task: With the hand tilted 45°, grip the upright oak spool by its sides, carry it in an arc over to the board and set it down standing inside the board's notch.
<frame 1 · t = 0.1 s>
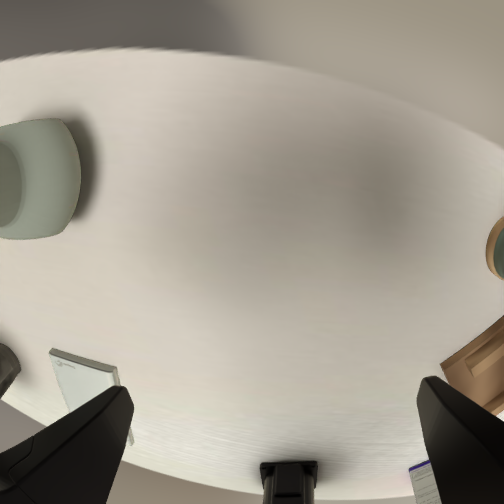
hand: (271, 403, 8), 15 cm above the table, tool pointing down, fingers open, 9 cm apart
hard drive: (96, 395, 30), on the table
air freshener: (47, 173, 22), on the table
beverage cup: (9, 357, 30), on the table
supplement box: (428, 467, 30), on the table
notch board: (497, 364, 24), on the table
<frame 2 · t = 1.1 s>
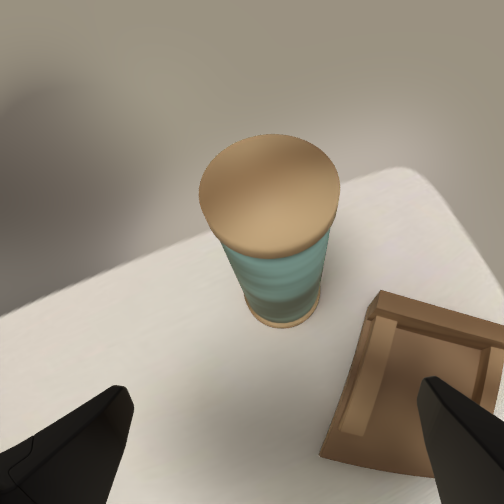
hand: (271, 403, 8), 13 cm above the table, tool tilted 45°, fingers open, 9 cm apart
oak spool: (282, 292, 24), on the table
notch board: (420, 397, 19), on the table
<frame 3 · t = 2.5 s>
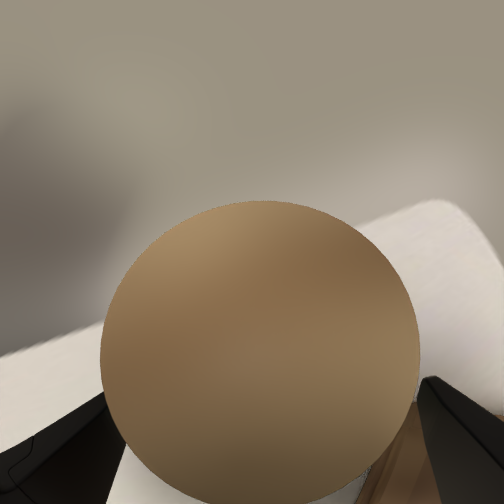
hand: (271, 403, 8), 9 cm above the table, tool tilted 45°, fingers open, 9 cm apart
oak spool: (281, 385, 16), on the table
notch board: (446, 501, 11), on the table
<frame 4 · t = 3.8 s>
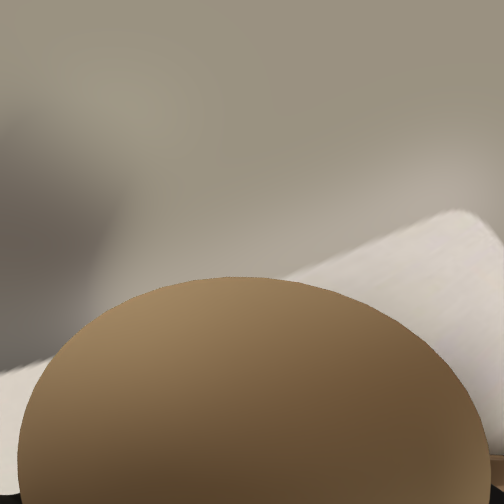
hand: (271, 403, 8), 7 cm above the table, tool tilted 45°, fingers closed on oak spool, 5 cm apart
oak spool: (280, 427, 14), on the table, touching gripper
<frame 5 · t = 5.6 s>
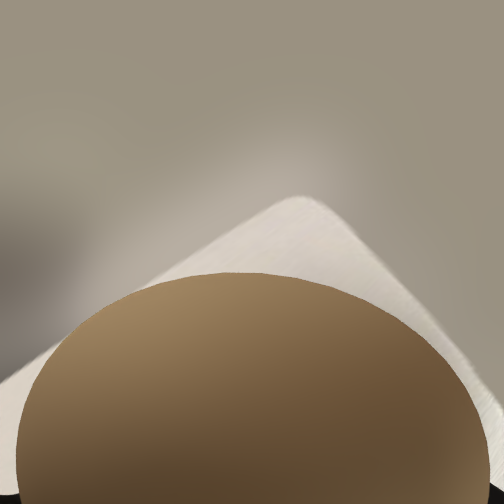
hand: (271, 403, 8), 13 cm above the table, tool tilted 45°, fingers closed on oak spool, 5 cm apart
oak spool: (280, 427, 14), point 7 cm above the table, touching gripper
when the fingers open (9 cm above the table, at t = 7.4 s): oak spool drops 1 cm, resting on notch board.
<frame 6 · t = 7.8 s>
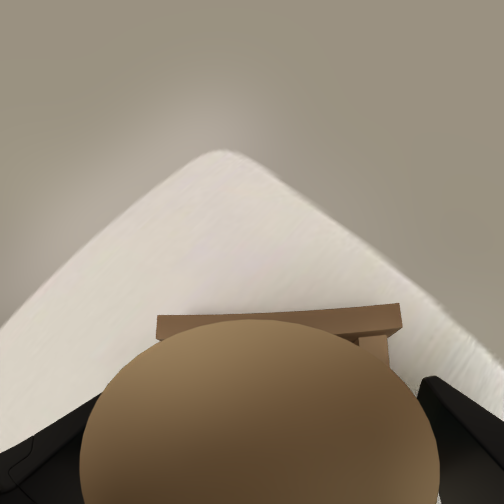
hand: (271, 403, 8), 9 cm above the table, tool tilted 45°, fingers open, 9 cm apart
oak spool: (282, 425, 15), point 1 cm above the table, touching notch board
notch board: (282, 423, 16), on the table
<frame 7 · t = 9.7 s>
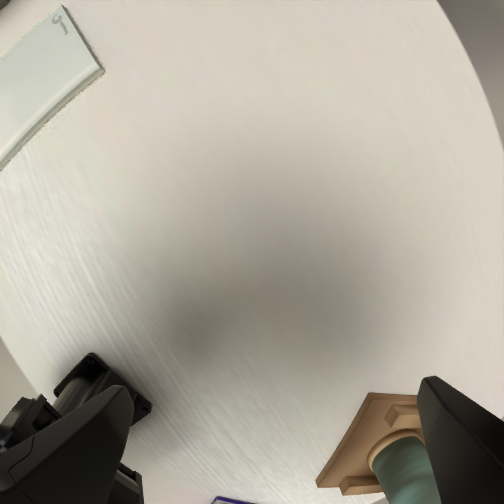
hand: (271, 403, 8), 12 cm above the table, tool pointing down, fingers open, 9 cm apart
oak spool: (393, 449, 24), point 1 cm above the table, touching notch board
hard drive: (25, 93, 17), on the table
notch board: (389, 442, 25), on the table
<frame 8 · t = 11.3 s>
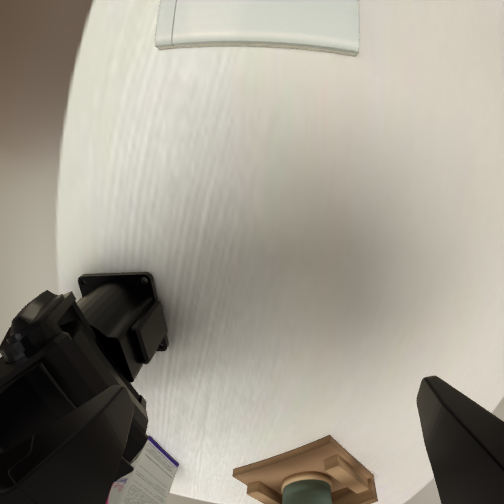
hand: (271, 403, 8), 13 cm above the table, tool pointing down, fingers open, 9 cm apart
oak spool: (306, 482, 28), point 1 cm above the table, touching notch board
supplement box: (146, 450, 30), on the table
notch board: (306, 475, 29), on the table
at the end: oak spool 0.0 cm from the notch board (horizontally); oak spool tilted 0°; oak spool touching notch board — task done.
